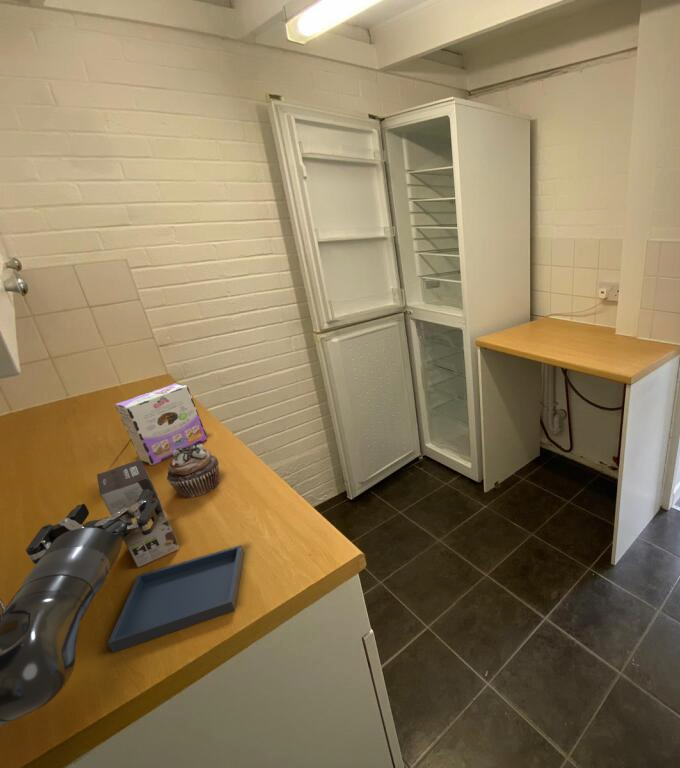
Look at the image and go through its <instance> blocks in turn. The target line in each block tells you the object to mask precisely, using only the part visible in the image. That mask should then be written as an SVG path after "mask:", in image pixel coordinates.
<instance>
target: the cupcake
mask: <svg viewBox="0 0 680 768" xmlns="http://www.w3.org/2000/svg"><path fill="white" fill-rule="evenodd" d="M219 465H220V463H219V460H218V458H217V457H216V455H212V453H211V451H210V450H208V449H206V448H205V447H204V445H203V444H201V443H195V444H192V445H189V446H187V447H184V448H177V449H176V450H175V451H173V456H172V459H171V460H170V463H169V464H168V466H167V469H168V472H167V476H166V481H167V482H168V483H169V485H170V486H171V487H172V488H173V489H174V491H175V492H176V493H177V494H178V496H179V497H180V498H182V499H183V498H184V499H191V498H192V499H193V498H197V497H202V496H203V495H206V494H207V493H210V492H211V490H212V491H214V489H216V488H217V487H218V486H217V485H220V483H221V477H220V469H219V467H220V466H219Z"/></svg>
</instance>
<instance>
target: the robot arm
mask: <svg viewBox="0 0 680 768" xmlns="http://www.w3.org/2000/svg"><path fill="white" fill-rule="evenodd" d="M138 509H139V511H140V513H139V514H138V515H136V516H135V515H134V512H135V511H136V510H138ZM162 513H163V510H162V507H161V505H160V503H159V501H158V499H156V498H155V496H154V494H153V492H152V491H150V490H149V489H145V490H143V491H142V493H141V494H140V496H139V498H138V500H137V503H135V504H134V505H132V506H130V507H129V508H122V509H121V510H119V511H117V512H116V513H114V514H113V515H111V514H110V515H109V516H105V517H102V518H100V519H95V520H90V521H86V519H87V518H88V516H89V515H90V511H89V509H88V507H87V505H86V504H85V503H80V504H77V505H76V507H74V508H73V509H72V510H70V511H69V513H68V514H67V515H66V516H65V518H61V520H59V521H58V523H56V524H54V525H53V524H52V523H49V524H46V525H43V526H42V527H40V529H39V530H38V532H37V533H36V534H35V536H34V537H33V539H32V540H31V542H30V543H29V544H28V545H27V547H26V549H25V552H26V554H27V556H28V557H29V559H30V560H31V561H32V563H33V565H34V567H33V568H31V569H32V570H30V572H29V573H28V575H27V576H26V577H25V579H24V581H23V582H22V585H21V587H20V589H19V590H18V592H17V594H16V595H15V596H14V597H13V599H12V600H11V601H10V603H9V604H8V606H7V607H6V608H5V605H4V603H3V601H2V600H1V599H0V728H1V727H3V726H6V725H7V724H10V723H12V722H14V721H17V720H18V719H20V718H23V717H25V716H28V715H29V714H31V713H33V712H35V711H38V710H40V709H41V708H42V707H44V706H46V705H47V704H48V703H50V702H51V701H52V700H54V698H56V697H57V696H58V695H59V693H60V692H61V691H63V689H64V688H65V687H66V685H67V684H68V683H69V681H70V679H71V678H72V675H73V673H74V670H75V665H76V654H77V653H76V652H77V644H78V636H79V630H80V623H81V622H82V620H83V618H84V616H85V614H86V612H87V611H88V608H89V606H91V605H90V604H91V603H92V601H93V600H94V598H95V597H96V596H97V594H98V593H99V592H100V591H101V589H102V587H103V585H104V583H105V581H106V580H107V578H108V575H109V574H110V572H111V570H112V568H113V566H114V564H115V562H116V561H117V559H118V557H119V555H120V553H121V549H122V544H123V543H124V542H125V541H124V540H125V539H126V538H127V537H128V536H129V535H130V534H132V533H136V532H142V534H143V535H148V534H150V533H151V532H152V531H153V529H154V527H155V526H156V524H157V522H158V520H159V518H160V517H161V515H162ZM122 516H124V518H125V520H126V522H127V523H125V522H123V521H122V520H121V519H119V518H121V517H122ZM85 521H86V522H85Z"/></svg>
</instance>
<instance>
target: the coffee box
mask: <svg viewBox="0 0 680 768" xmlns="http://www.w3.org/2000/svg"><path fill="white" fill-rule="evenodd" d="M96 477H97V483H98V488H99V494H100V496H101V499H102V500H103V502H104V504H105V506H106V508H107V510H108V512H109V514H110V516H111V515H113V514H114V513H116V512H117V511H119V510H121V509H122V508H129V507H130V506H132V505H134V504H135V503H137V500H138V498H139V496H140V494H141V493H142V491H143V490H145V489H149V490H150V491H152V492H153V494H154V496H155V498H156V499H158V501H159V503H160V505H161V507H162V510H163V513H162V515H161V517H160V518H159V520H158V522H157V524H156V526H155V527H154V529H153V531H152V532H151V533H150V534H148V535H143V534H142V532H136V533H132V534H130V535H129V536H128V537H127V538H126V539H125V540H124V541H123V542H124V543H125V545H126V547H127V549H128V551H129V553H130V555H131V558H132V559H133V561H134V563H135V565H136V567H137V568H140V567H142V566H145V565H147V564H149V563H152V562H153V561H156V560H158V559H160V558H162V557H164V556H167V555H169V554H171V553H173V552H176V551H179V549H180V546H179V544H178V541H177V537H176V534H175V532H174V529H173V526H172V524H171V522H170V519H169V517H168V515H167V512H166V510H165V507H164V506H163V504H162V501H161V499H160V497H159V495H158V492H157V490H156V489H155V485H154V483H153V481H152V479H151V477H150V476H149V473H148V471H147V468H146V467H145V465H144V462H143V461H142V460H140V459H138V460H134V461H131V462H129V463H126V464H122V465H119V466H117V467H114V468H112V469H109V470H106V471H103V472H100V473H97V474H96ZM139 513H140V511H139V509H138V510H136V511H135V512H134V515H135V516H136V515H138V514H139ZM119 519H121V520H122V521H123V522H125V523H127V522H126V520H125V518H124V516H122V517H121V518H119Z"/></svg>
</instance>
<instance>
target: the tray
mask: <svg viewBox="0 0 680 768" xmlns="http://www.w3.org/2000/svg"><path fill="white" fill-rule="evenodd" d="M244 558H245V550H244V548H243V546H242V544H240V545H237V546H232V547H229V548H226V549H223V550H220V551H216V552H213V553H209V554H206V555H203V556H199V557H196V558H193V559H192V558H191V559H189V560H186V561H183V562H178V563H174V564H172V565H169V566H166V567H163V568H158V569H156V570H155V569H154V570H152V571H148V572H145V573H142V574H138V575H137V577H136V579H135V580H134V583H133V586H132V588H131V590H130V593H129V595H128V596H127V598H126V601H125V604H124V606H123V608H122V610H121V613H120V614H119V617H118V619H117V621H116V623H115V625H114V628H113V630H112V633H111V635H110V637H109V639H108V641H107V645H108V646H109V648H110V650H111V652H112V653H116V652H120V651H122V650H125V649H128V648H130V647H134V646H136V645H140V644H143V643H146V642H148V641H151V640H154V639H157V638H160V637H163V636H165V635H168V634H172V633H174V632H177V631H180V630H183V629H186V628H189V627H192V626H194V625H198V624H200V623H203V622H206V621H209V620H212V619H215V618H217V617H218V618H219V617H221V616H223V615H227V614H230V613H232V612H235V611H236V607H237V601H238V595H239V588H240V583H241V577H242V571H243V564H244Z"/></svg>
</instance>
